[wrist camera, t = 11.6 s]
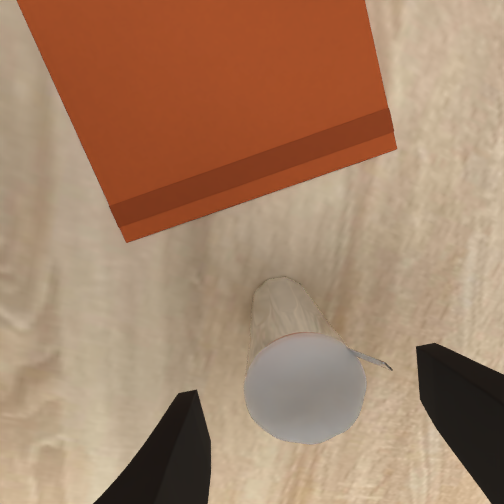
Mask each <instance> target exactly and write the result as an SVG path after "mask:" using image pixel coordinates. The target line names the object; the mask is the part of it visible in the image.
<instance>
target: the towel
mask: <svg viewBox="0 0 504 504" xmlns="http://www.w3.org/2000/svg"><path fill="white" fill-rule="evenodd" d="M17 2H18V4H19V7H20V9H21V11H22V13H23V16H24V18H25V20H26V22H27V24H28V27H29V29H30V31H31V33H32V35H33V38H34V40H35V42H36V44H37V46H38V49H39V51H40V53H41V55H42V58H43V60H44V62H45V64H46V66H47V69H48V71H49V73H50V75H51V77H52V80H53V82H54V84H55V86H56V88H57V91H58V93H59V95H60V97H61V100H62V102H63V104H64V106H65V108H66V111H67V113H68V115H69V117H70V119H71V122H72V124H73V126H74V128H75V130H76V133H77V135H78V137H79V139H80V142H81V144H82V146H83V148H84V150H85V153H86V155H87V157H88V159H89V161H90V164H91V166H92V168H93V170H94V172H95V175H96V177H97V179H98V181H99V184H100V186H101V188H102V190H103V192H104V195H105V197H106V199H107V201H108V203H109V207H110V209H111V212H112V214H113V216H114V218H115V220H116V223H117V225H118V227H119V228H120V230H121V232H122V234H123V237H124V239H125V241H126V243H128V242H131V241H133V240H136V239H139V238H142V237H145V236H148V235H151V234H154V233H156V232H159V231H162V230H165V229H168V228H171V227H174V226H177V225H180V224H182V223H185V222H188V221H191V220H194V219H197V218H200V217H203V216H206V215H208V214H211V213H214V212H217V211H220V210H223V209H226V208H229V207H232V206H234V205H237V204H240V203H243V202H246V201H249V200H252V199H255V198H257V197H260V196H263V195H266V194H269V193H272V192H275V191H278V190H281V189H283V188H286V187H289V186H292V185H295V184H298V183H301V182H304V181H307V180H309V179H312V178H315V177H318V176H321V175H324V174H327V173H330V172H333V171H335V170H338V169H341V168H344V167H347V166H350V165H353V164H356V163H358V162H361V161H364V160H367V159H370V158H373V157H376V156H379V155H382V154H384V153H387V152H390V151H393V150H396V149H397V146H396V141H395V137H394V129H393V124H392V120H391V115H390V110H389V108H388V105H387V100H386V96H385V91H384V87H383V82H382V77H381V73H380V68H379V64H378V59H377V55H376V50H375V46H374V41H373V36H372V32H371V27H370V23H369V18H368V14H367V9H366V4H365V0H17Z"/></svg>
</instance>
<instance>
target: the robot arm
mask: <svg viewBox="0 0 504 504" xmlns="http://www.w3.org/2000/svg"><path fill="white" fill-rule="evenodd" d="M416 351H417V365H418V378H419V392H420V400H421V402H422V404H423V406H424V408H425V410H426V411H427V413H428V415H429V417H430V418H431V420H432V422H433V424H434V425H435V427H436V429H437V430H438V431H439V433H440V434H441V436H442V437H443V438H444V440H445V441H446V442H447V444H448V445H449V447H450V448H451V449H452V451H453V452H454V453H455V455H456V456H457V457H458V459H459V460H460V461H461V463H462V464H463V465H464V467H465V468H466V469H467V471H468V472H469V473H470V475H471V476H472V477H473V479H474V480H475V482H476V483H477V484H478V486H479V487H480V488H481V490H482V491H483V492H484V494H485V495H486V496H487V498H488V499H489V501H490V502H491V504H504V374H501V373H499V372H497V371H495V370H492V369H490V368H488V367H486V366H484V365H482V364H479V363H477V362H475V361H473V360H471V359H469V358H467V357H465V356H463V355H460V354H458V353H456V352H454V351H452V350H450V349H448V348H446V347H443V346H441V345H439V344H436V343H432V344H427V345H422V346H417V347H416ZM210 477H211V440H210V436H209V432H208V429H207V425H206V421H205V418H204V414H203V410H202V407H201V403H200V399H199V396H198V392H197V390H193V391H187V392H182V393H178V395H177V396H176V397H175V399H174V400H173V402H172V403H171V405H170V406H169V408H168V409H167V411H166V413H165V414H164V416H163V417H162V419H161V420H160V422H159V423H158V425H157V426H156V428H155V429H154V430H153V432H152V433H151V435H150V436H149V438H148V439H147V441H146V442H145V443H144V445H143V446H142V447H141V449H140V450H139V451H138V453H137V454H136V455H135V457H134V458H133V459H132V461H131V462H130V463H129V464H128V466H127V467H126V468H125V469H124V471H123V472H122V473H121V474H120V475H119V476H118V478H117V479H116V480H115V481H114V482H113V483H112V484H111V485H110V487H109V488H108V489H107V490H106V491H105V492H104V493H103V494H102V495H101V496H100V497H99V498H98V499H97V501H95V502H94V503H93V504H208V496H209V486H210Z"/></svg>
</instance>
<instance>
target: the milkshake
mask: <svg viewBox="0 0 504 504" xmlns="http://www.w3.org/2000/svg"><path fill="white" fill-rule="evenodd" d="M357 357H359V358H361V359H364V360H366V361H369V362H371V363H374V364H376V365H379V366H381V367H383V368H386V369H388V370H391V371H393V369H392V368H391V367H390V366H388V365H387V364H386V363H385V362H383V361H381V360H378V359H376V358H373V357H371V356H368V355H365V354H363V353H360V352H358V351H355V350H353V349H350V348H349V346H348V345H347V344H346V343H345V342H344V340H343V339H342V338H341V337H340V335H339V334H338V333H337V332H336V330H335V329H334V328H333V327H332V326H331V324H330V323H329V322H328V321H327V319H326V318H325V317H324V315H323V314H322V312H321V311H320V310H319V308H318V307H317V306H316V304H315V303H314V301H313V300H312V299H311V297H310V296H309V295H308V293H307V292H306V290H305V289H304V288H303V286H302V285H301V284H300V283H298V282H296V281H293V280H291V279H289V278H287V277H285V276H284V277H279V278H273V279H267V280H266V281H265V282H264V283H263V284H262V285H261V286H260V287H259V288H258V289H257V290H255V291H254V297H253V303H252V308H251V325H250V343H249V350H248V357H247V366H246V374H245V381H244V396H245V401H246V405H247V409H248V411H249V414H250V416H251V417H252V419H253V420H254V421H255V422H256V423H257V424H258V425H259V426H260V427H261V428H262V429H264V430H265V431H266V432H268V433H269V434H271V435H272V436H274V437H276V438H278V439H280V440H283V441H288V442H295V443H302V444H318V443H322V442H324V441H327V440H329V439H331V438H333V437H334V436H336V435H338V434H341V433H343V432H345V431H346V430H348V429H349V428H350V427H351V426H352V425H353V424H354V422H355V421H356V419H357V418H358V416H359V413H360V411H361V408H362V404H363V400H364V396H365V392H366V385H367V382H366V375H365V372H364V369H363V367H362V365H361V363H360V361H359V359H358V358H357Z"/></svg>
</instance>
